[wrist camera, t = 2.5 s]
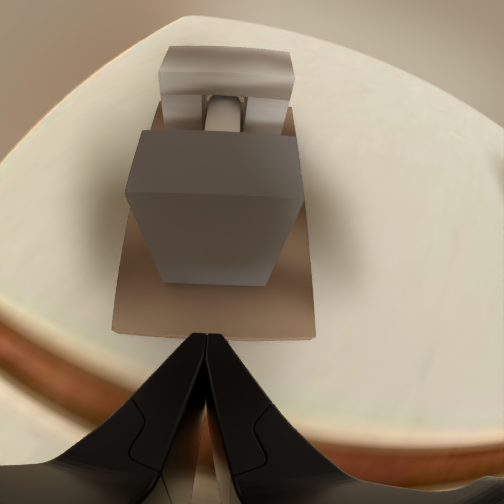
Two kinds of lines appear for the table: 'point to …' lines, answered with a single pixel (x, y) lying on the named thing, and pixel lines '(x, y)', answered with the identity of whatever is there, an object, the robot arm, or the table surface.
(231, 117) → the block
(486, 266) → the table surface
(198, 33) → the table surface
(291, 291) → the frame
